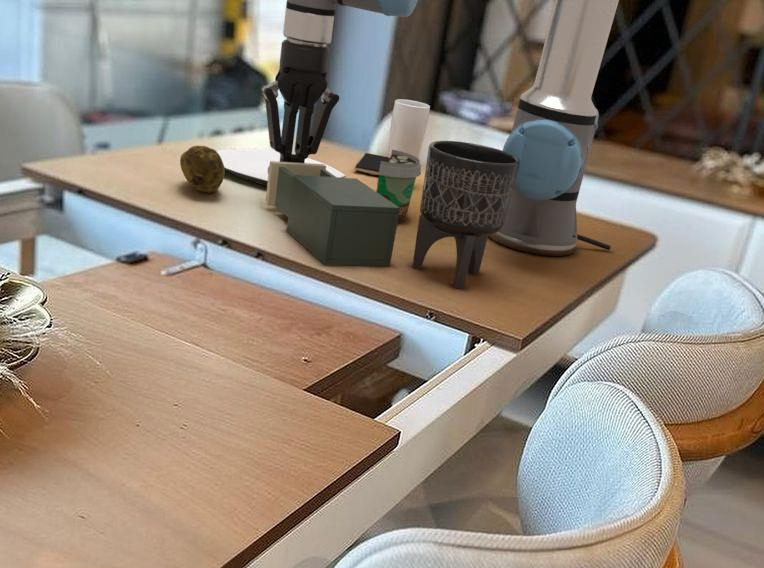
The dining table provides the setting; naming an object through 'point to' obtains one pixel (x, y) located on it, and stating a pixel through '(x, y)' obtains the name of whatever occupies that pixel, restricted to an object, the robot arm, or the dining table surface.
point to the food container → (398, 180)
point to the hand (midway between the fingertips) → (287, 196)
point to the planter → (464, 200)
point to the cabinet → (342, 221)
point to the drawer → (288, 181)
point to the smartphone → (370, 163)
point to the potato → (203, 168)
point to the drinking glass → (408, 126)
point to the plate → (257, 163)
